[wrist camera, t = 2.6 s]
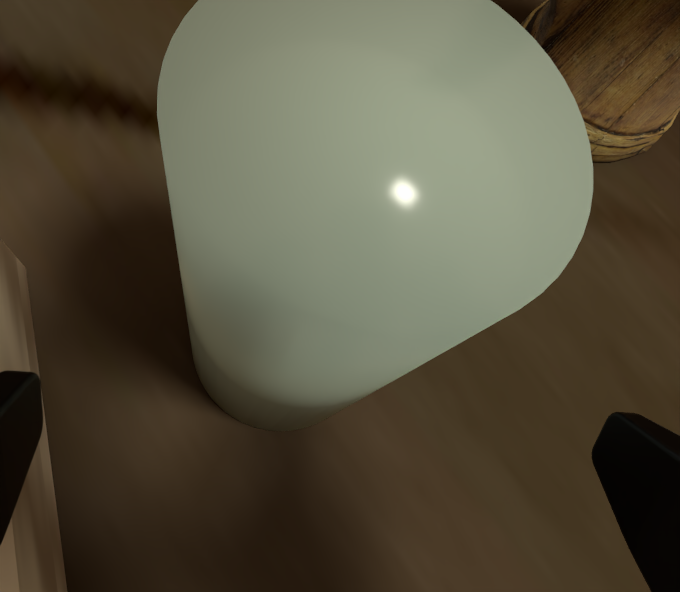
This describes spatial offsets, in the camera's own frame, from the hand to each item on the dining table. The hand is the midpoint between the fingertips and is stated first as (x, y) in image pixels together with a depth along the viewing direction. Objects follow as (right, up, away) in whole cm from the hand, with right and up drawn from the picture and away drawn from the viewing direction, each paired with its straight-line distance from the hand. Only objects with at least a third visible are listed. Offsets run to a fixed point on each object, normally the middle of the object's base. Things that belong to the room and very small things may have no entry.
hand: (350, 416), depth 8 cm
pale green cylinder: (-2, 0, +11) cm, 11 cm away
